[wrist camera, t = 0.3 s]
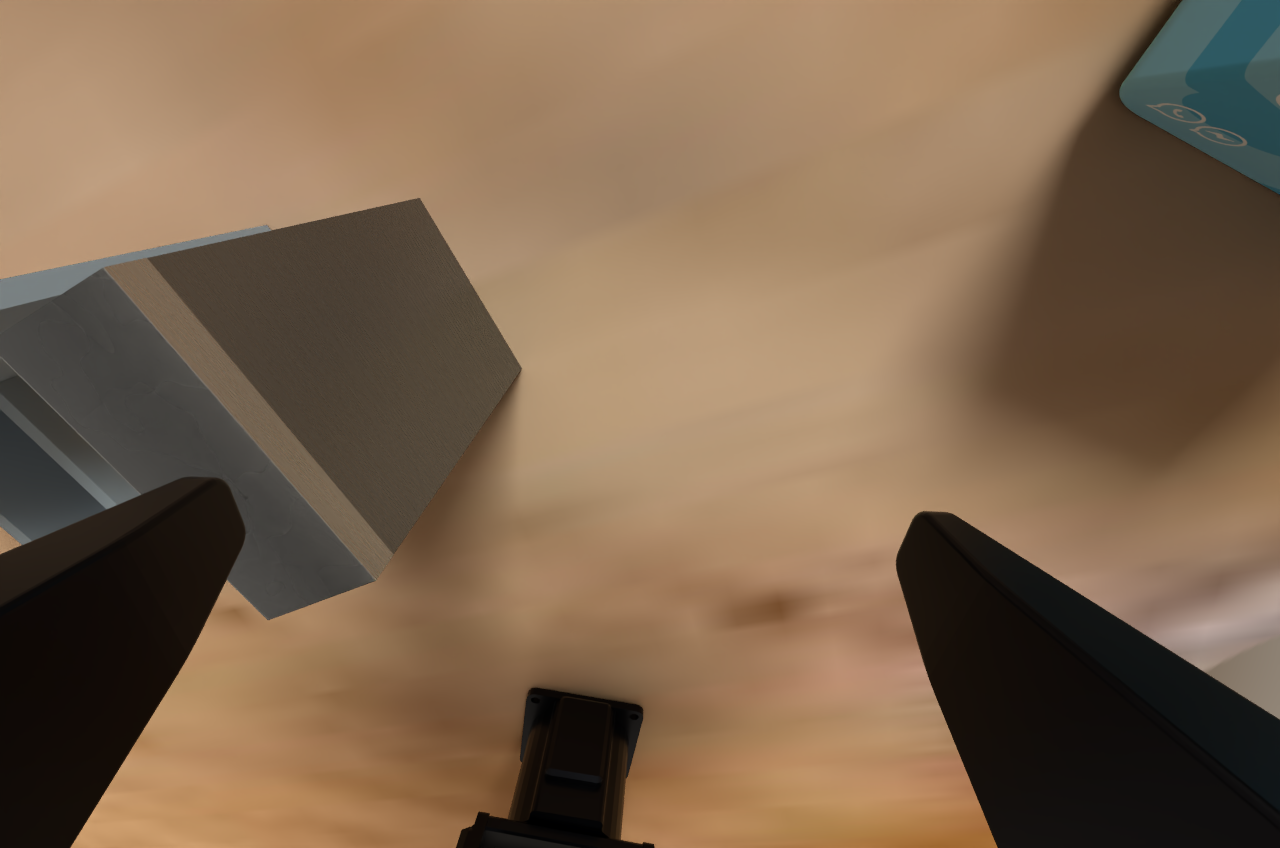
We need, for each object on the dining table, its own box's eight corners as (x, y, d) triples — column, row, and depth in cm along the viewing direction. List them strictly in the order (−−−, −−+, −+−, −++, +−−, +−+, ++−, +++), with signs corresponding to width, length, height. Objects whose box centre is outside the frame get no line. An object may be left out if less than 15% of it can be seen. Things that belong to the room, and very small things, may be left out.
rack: (423, 441, 24) (224, 676, 13) (173, 550, 28) (-134, 798, 17) (266, 223, 20) (-184, 314, 10) (1, 384, 24) (-526, 574, 13)
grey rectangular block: (522, 368, 22) (376, 580, 11) (459, 396, 23) (268, 620, 12) (420, 197, 19) (103, 267, 9) (352, 235, 20) (-15, 343, 9)
